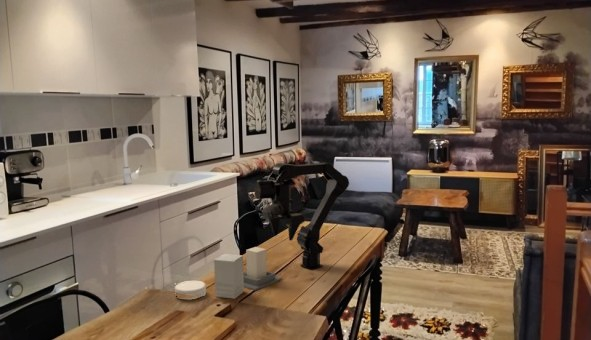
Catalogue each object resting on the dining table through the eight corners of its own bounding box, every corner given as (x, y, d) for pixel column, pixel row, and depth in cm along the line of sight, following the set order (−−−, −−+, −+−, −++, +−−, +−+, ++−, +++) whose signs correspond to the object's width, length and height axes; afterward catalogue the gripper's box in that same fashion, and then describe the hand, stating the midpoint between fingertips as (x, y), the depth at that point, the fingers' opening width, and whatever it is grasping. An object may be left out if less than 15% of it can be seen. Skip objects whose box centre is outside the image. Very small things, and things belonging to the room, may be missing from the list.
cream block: (256, 276, 173) (256, 246, 171) (266, 279, 170) (266, 249, 168) (246, 279, 169) (246, 249, 168) (256, 282, 166) (256, 252, 164)
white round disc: (190, 303, 150) (190, 292, 149) (168, 297, 155) (168, 286, 155) (212, 293, 158) (212, 283, 158) (190, 287, 163) (190, 278, 163)
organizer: (257, 272, 178) (257, 265, 178) (281, 279, 171) (281, 272, 171) (230, 282, 168) (230, 275, 167) (255, 290, 160) (254, 283, 160)
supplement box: (244, 291, 159) (244, 255, 158) (234, 299, 152) (234, 261, 151) (224, 288, 162) (224, 253, 160) (214, 296, 155) (213, 259, 153)
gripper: (250, 196, 178) (250, 236, 180) (281, 203, 164) (282, 246, 166) (273, 193, 186) (273, 232, 187) (305, 199, 172) (305, 241, 173)
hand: (282, 237), depth 178 cm, fingers open, 9 cm apart
